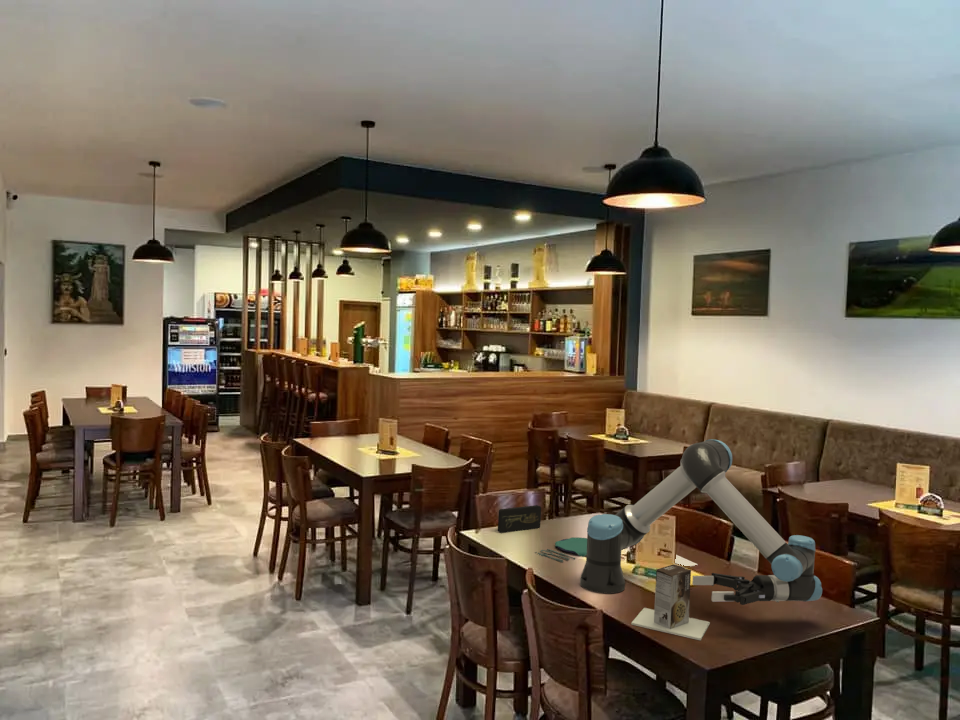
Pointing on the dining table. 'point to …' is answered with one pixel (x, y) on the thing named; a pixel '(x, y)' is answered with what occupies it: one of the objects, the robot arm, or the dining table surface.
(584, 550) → the cutlery set
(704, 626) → the mat
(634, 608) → the dining table surface
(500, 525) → the nameplate
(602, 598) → the dining table surface
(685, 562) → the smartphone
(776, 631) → the dining table surface
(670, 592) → the coffee box
